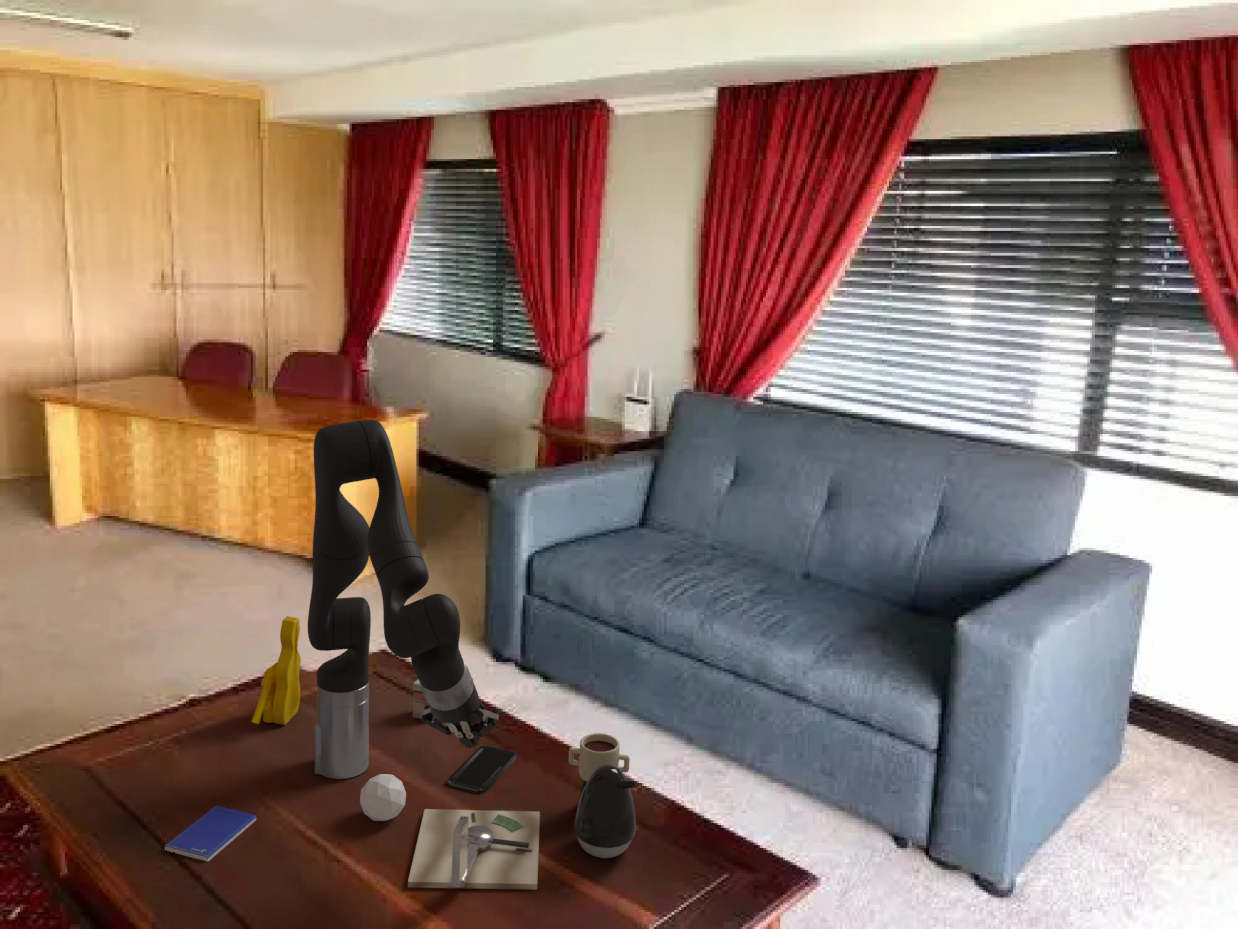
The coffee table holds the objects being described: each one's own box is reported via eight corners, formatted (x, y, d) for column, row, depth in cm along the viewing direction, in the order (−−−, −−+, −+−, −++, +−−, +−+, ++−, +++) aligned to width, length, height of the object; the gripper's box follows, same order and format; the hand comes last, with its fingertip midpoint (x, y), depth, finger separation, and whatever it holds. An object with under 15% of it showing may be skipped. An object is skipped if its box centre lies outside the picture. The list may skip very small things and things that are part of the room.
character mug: (629, 802, 186) (633, 737, 183) (622, 824, 179) (627, 756, 176) (570, 793, 187) (573, 729, 184) (561, 815, 180) (565, 748, 177)
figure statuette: (282, 697, 217) (280, 599, 212) (317, 701, 216) (316, 603, 211) (242, 737, 200) (239, 632, 194) (281, 742, 199) (279, 636, 194)
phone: (445, 781, 187) (482, 744, 201) (445, 787, 188) (482, 749, 201) (484, 791, 185) (518, 753, 199) (483, 796, 185) (518, 758, 199)
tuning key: (467, 832, 171) (469, 775, 169) (531, 840, 170) (534, 783, 168) (439, 893, 156) (441, 831, 153) (510, 902, 154) (512, 840, 152)
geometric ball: (392, 835, 176) (403, 816, 171) (348, 819, 175) (358, 800, 170) (406, 795, 182) (417, 775, 176) (363, 779, 181) (373, 760, 175)
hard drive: (207, 856, 162) (256, 814, 173) (164, 844, 164) (215, 804, 175) (208, 865, 162) (256, 823, 174) (164, 853, 164) (215, 812, 176)
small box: (411, 718, 211) (412, 682, 210) (421, 709, 215) (421, 674, 214) (434, 722, 210) (434, 687, 208) (443, 713, 214) (444, 678, 212)
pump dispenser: (614, 876, 164) (619, 791, 161) (561, 852, 170) (565, 769, 166) (646, 845, 173) (652, 764, 169) (595, 824, 178) (599, 745, 175)
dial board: (407, 887, 159) (408, 881, 158) (424, 814, 178) (424, 808, 178) (537, 889, 160) (537, 883, 160) (539, 816, 179) (539, 811, 179)
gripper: (400, 706, 153) (427, 761, 166) (485, 711, 151) (506, 767, 164) (412, 663, 158) (438, 720, 171) (495, 668, 156) (515, 724, 169)
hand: (471, 742), depth 167 cm, fingers closed
